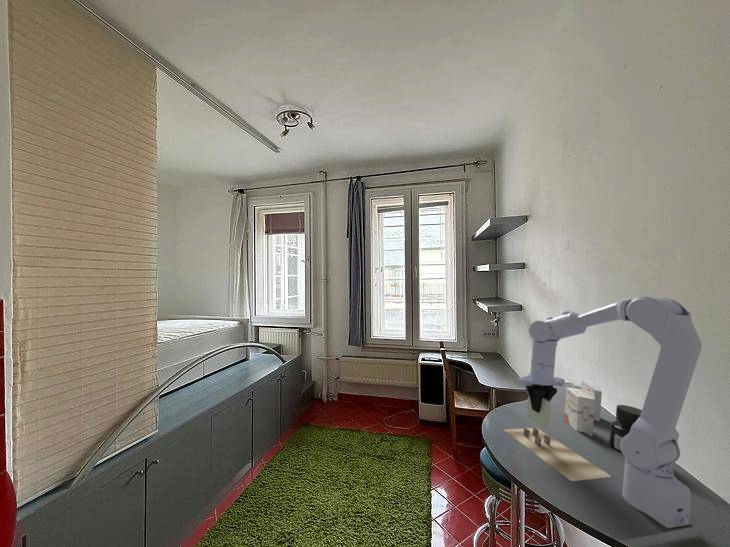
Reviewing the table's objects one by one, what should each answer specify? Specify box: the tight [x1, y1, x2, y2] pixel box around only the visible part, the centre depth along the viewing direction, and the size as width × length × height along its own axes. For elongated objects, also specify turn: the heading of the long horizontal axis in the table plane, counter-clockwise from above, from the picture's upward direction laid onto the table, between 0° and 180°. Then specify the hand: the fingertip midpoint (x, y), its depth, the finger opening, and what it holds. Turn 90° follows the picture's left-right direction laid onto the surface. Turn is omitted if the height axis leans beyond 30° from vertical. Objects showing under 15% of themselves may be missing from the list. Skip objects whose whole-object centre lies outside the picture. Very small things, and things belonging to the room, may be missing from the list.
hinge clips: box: [523, 427, 551, 446], centre depth 84 cm, size 6×4×2 cm
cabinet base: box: [504, 427, 613, 482], centre depth 79 cm, size 22×12×1 cm, turn 14°
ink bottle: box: [608, 404, 642, 455], centre depth 83 cm, size 10×9×12 cm
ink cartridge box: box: [563, 380, 595, 437], centre depth 95 cm, size 9×5×15 cm, turn 168°
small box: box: [572, 381, 603, 422], centre depth 106 cm, size 8×6×10 cm
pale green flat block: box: [526, 396, 551, 428], centre depth 84 cm, size 6×2×7 cm, turn 14°
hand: (538, 410), depth 84 cm, fingers closed on pale green flat block, 1 cm apart
